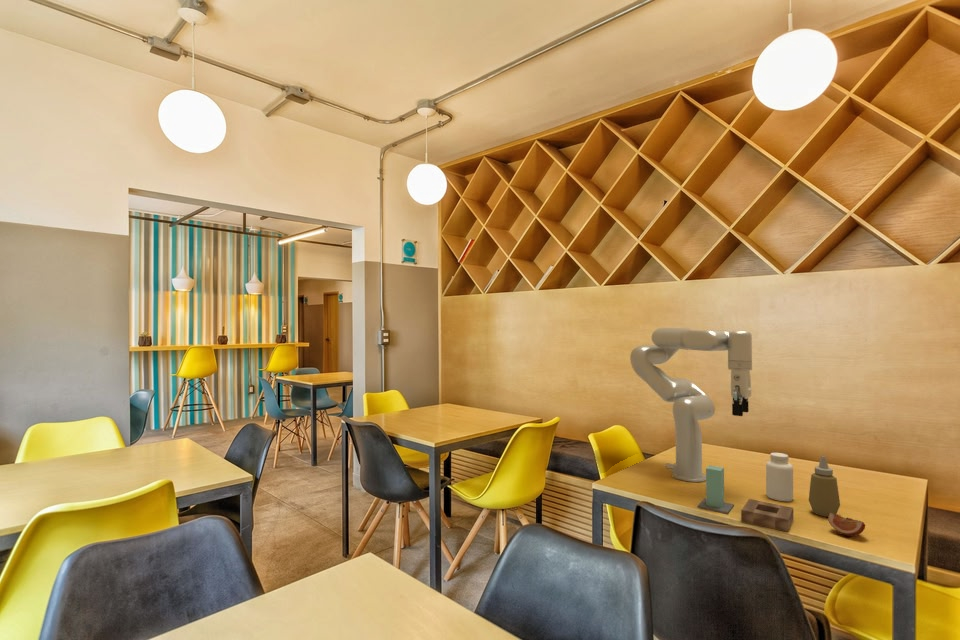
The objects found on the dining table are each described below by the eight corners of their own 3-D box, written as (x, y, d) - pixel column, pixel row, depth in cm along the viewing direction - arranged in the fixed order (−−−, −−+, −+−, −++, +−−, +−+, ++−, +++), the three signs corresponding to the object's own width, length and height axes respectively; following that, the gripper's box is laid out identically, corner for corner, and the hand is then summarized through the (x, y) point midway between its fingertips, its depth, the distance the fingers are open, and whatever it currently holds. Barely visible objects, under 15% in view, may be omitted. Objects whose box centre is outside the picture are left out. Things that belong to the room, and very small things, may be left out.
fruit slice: (824, 531, 137) (823, 513, 137) (836, 526, 140) (835, 509, 140) (858, 542, 129) (857, 524, 129) (870, 537, 132) (869, 519, 133)
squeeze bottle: (841, 521, 144) (840, 461, 144) (809, 515, 148) (808, 457, 148) (838, 512, 150) (837, 455, 151) (808, 507, 155) (807, 452, 155)
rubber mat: (697, 507, 155) (697, 505, 155) (704, 499, 162) (704, 498, 162) (727, 514, 149) (727, 512, 149) (734, 506, 156) (734, 504, 156)
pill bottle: (784, 503, 158) (784, 458, 158) (761, 496, 165) (760, 453, 166) (798, 499, 162) (797, 455, 162) (774, 492, 169) (774, 450, 169)
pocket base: (741, 521, 144) (741, 509, 144) (749, 509, 153) (749, 498, 153) (788, 532, 136) (788, 519, 136) (793, 519, 145) (793, 507, 145)
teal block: (706, 505, 155) (706, 468, 156) (709, 501, 159) (709, 465, 159) (721, 508, 152) (720, 470, 153) (724, 504, 156) (723, 467, 156)
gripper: (746, 367, 159) (747, 418, 159) (756, 364, 173) (757, 411, 172) (722, 366, 164) (723, 416, 164) (733, 363, 178) (734, 409, 177)
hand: (740, 413), depth 168 cm, fingers open, 9 cm apart
